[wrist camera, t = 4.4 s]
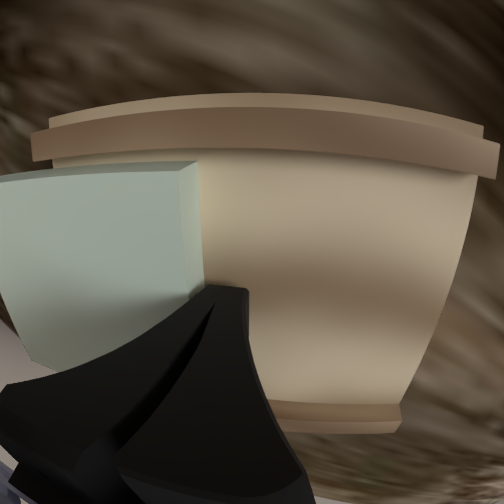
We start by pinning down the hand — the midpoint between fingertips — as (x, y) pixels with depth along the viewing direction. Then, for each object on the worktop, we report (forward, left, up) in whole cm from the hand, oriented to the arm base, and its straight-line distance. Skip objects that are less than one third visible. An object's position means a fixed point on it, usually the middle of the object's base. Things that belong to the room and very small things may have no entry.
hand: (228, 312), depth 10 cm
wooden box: (0, 0, -3) cm, 3 cm away
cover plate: (0, +6, -1) cm, 6 cm away
